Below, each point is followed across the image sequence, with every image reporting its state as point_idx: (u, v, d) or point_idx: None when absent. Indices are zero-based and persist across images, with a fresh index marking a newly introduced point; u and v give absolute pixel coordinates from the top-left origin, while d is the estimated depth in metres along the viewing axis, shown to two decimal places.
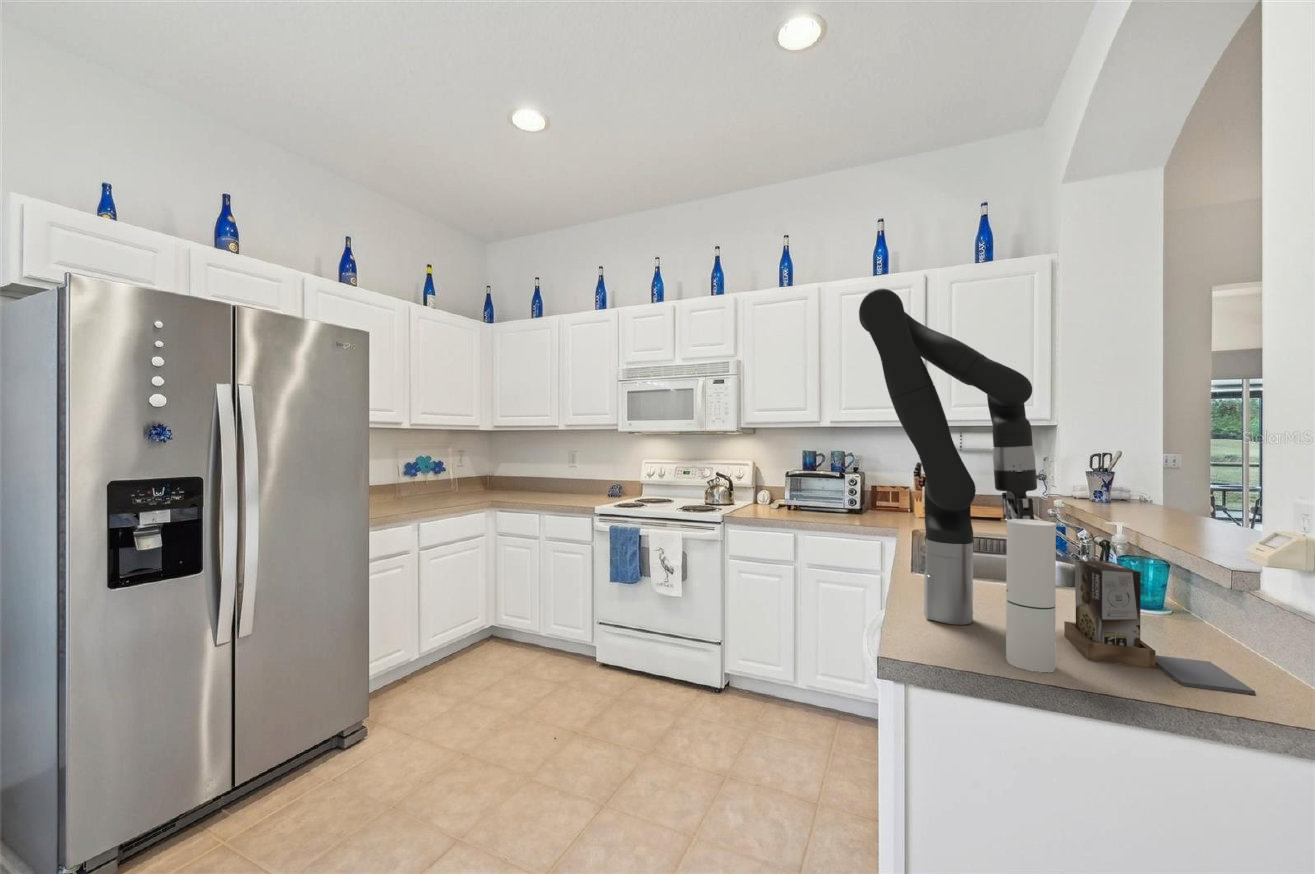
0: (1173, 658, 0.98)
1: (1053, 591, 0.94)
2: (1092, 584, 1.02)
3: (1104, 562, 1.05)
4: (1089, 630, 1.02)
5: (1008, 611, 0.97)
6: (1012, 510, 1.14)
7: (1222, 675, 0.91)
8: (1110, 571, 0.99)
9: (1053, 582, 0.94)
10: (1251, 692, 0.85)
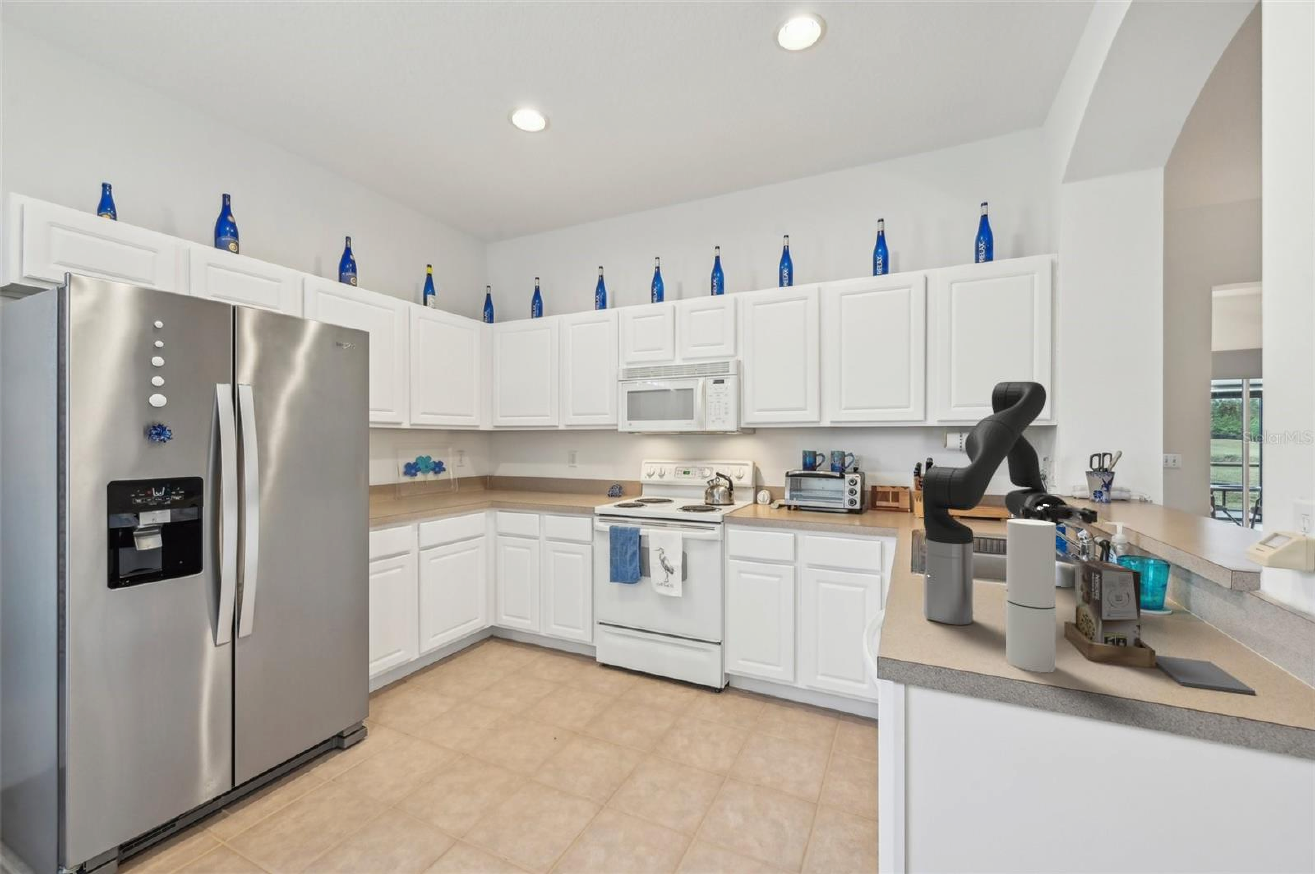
0: (1173, 658, 0.98)
1: (1053, 591, 0.94)
2: (1092, 584, 1.02)
3: (1104, 562, 1.05)
4: (1089, 630, 1.02)
5: (1008, 611, 0.97)
6: None
7: (1222, 675, 0.91)
8: (1110, 571, 0.99)
9: (1053, 582, 0.94)
10: (1251, 692, 0.85)
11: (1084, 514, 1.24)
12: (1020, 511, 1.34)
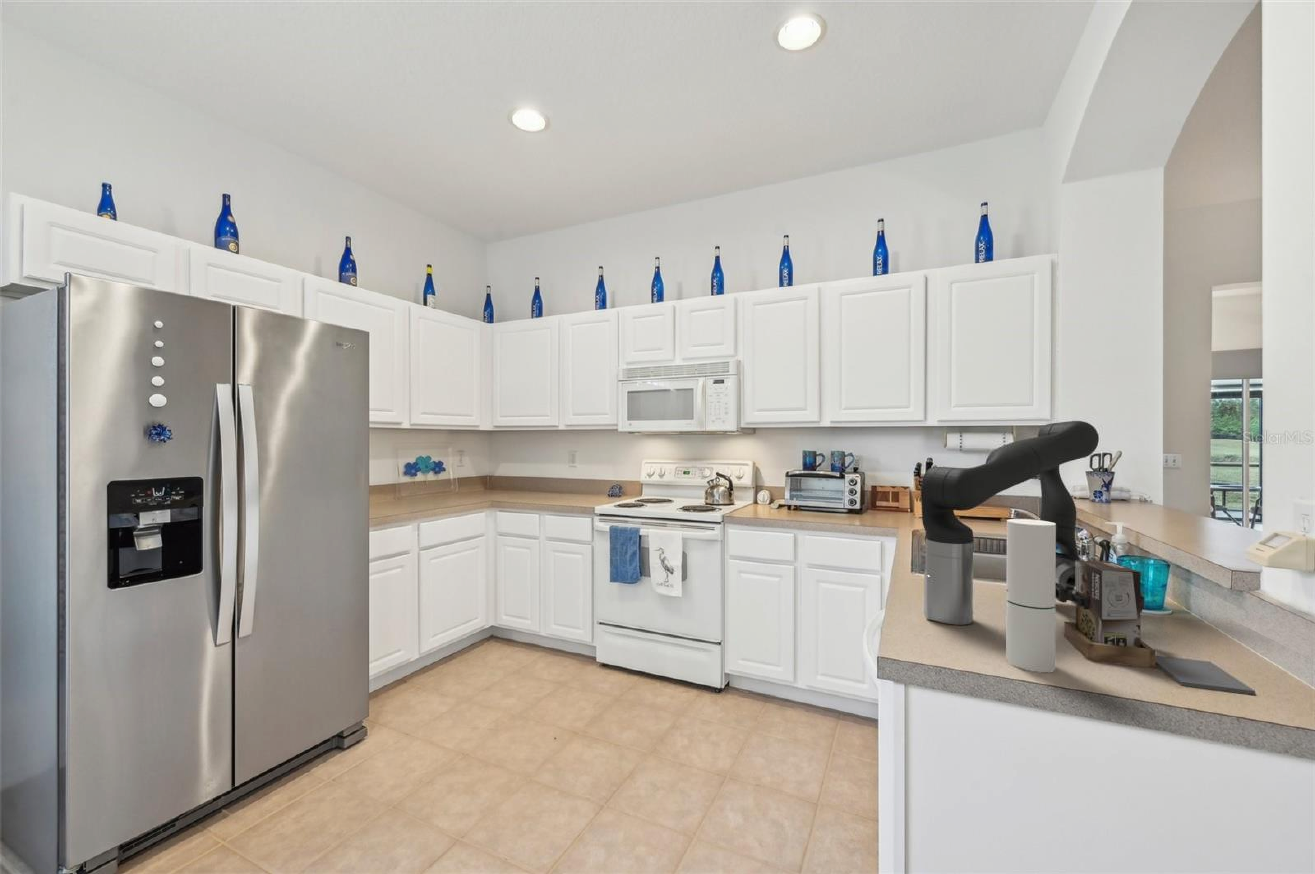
0: (1173, 658, 0.98)
1: (1053, 591, 0.94)
2: (1092, 584, 1.02)
3: (1104, 562, 1.05)
4: (1089, 630, 1.02)
5: (1008, 611, 0.97)
6: None
7: (1222, 675, 0.91)
8: (1110, 571, 0.99)
9: (1053, 582, 0.94)
10: (1251, 692, 0.85)
11: None
12: None
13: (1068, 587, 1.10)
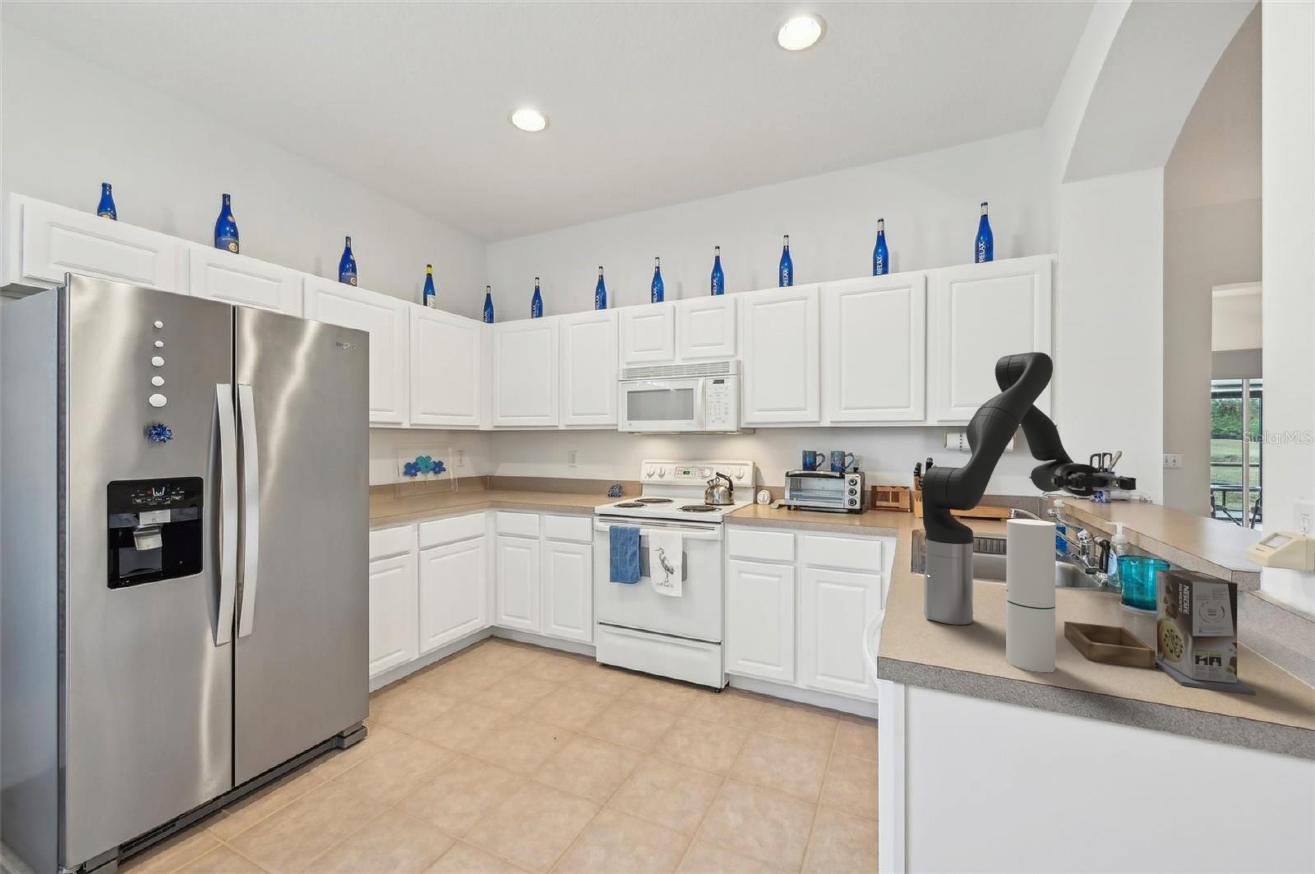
0: None
1: (1053, 591, 0.94)
2: (1179, 596, 0.92)
3: (1190, 572, 0.95)
4: (1175, 647, 0.93)
5: (1008, 611, 0.97)
6: None
7: None
8: (1202, 582, 0.89)
9: (1053, 582, 0.94)
10: (1251, 692, 0.85)
11: (1122, 481, 1.17)
12: (1052, 480, 1.27)
13: (1067, 477, 1.26)
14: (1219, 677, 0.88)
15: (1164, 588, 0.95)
